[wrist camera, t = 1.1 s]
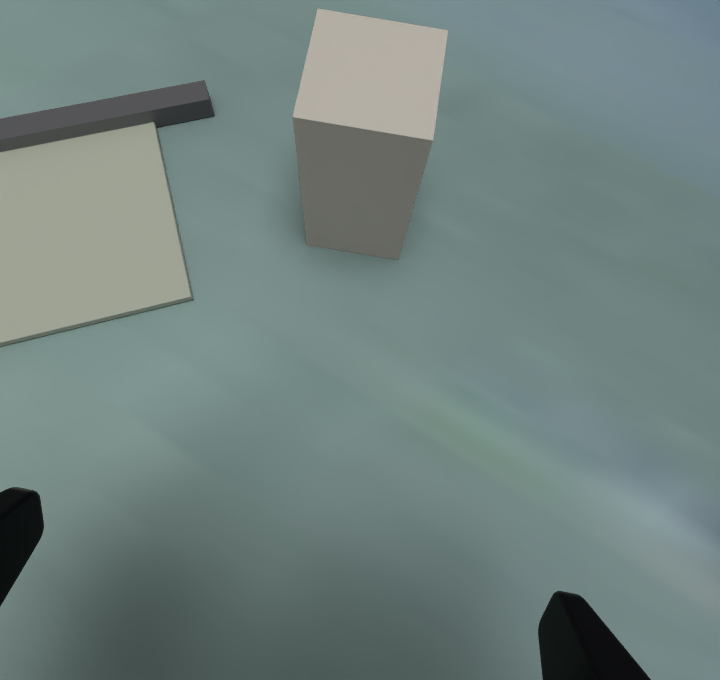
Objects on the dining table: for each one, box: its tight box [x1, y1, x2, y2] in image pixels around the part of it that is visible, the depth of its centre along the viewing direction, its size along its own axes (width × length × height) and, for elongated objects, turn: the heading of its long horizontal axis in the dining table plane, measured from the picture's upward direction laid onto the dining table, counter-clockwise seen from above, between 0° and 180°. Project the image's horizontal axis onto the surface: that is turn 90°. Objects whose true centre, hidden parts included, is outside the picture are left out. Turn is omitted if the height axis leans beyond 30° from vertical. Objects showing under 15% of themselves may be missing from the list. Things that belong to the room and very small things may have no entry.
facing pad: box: [0, 122, 193, 346], centre depth 24 cm, size 10×10×1 cm
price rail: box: [0, 80, 214, 152], centre depth 25 cm, size 16×1×1 cm, turn 106°
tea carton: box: [293, 9, 448, 260], centre depth 21 cm, size 5×5×9 cm
